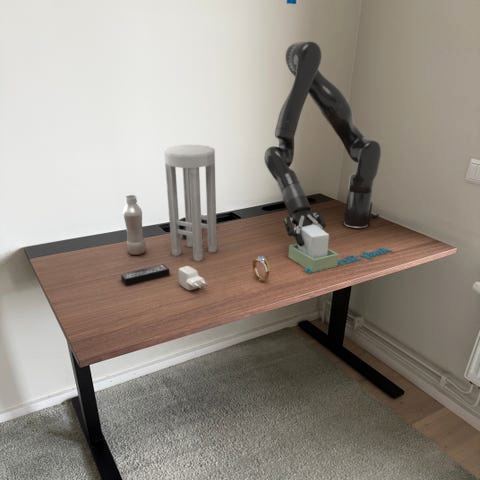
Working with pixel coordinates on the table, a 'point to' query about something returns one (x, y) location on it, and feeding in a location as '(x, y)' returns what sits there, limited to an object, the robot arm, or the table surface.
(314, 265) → the holder
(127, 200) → the plastic bottle
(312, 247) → the cosmetics box
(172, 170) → the stool
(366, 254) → the nameplate
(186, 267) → the power adapter
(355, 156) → the robot arm
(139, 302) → the table surface
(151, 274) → the multiport hub
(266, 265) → the ring
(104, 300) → the table surface
